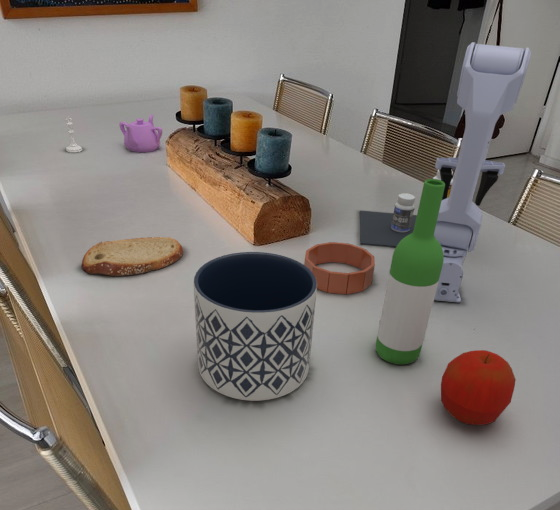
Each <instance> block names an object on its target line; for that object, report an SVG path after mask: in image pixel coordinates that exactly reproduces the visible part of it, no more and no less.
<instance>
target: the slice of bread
mask: <svg viewBox="0 0 560 510" xmlns="http://www.w3.org/2000/svg"><path fill="white" fill-rule="evenodd" d="M183 254H184V248H183V246H182V244H180V242H179V241H178V240H177V239H175V238H173V237H171V236H169V237H165V236H164V237H163V236H162V237H160V236H154V237H151V236H149V237H135V238H126V239H117V240H116V239H115V240H107V241H106V240H105V241H99V242H98V243H97V244H95V245H92V247H90V248H89V249H88V250H87V251H86V253H84V255H83V257H82V260H81V269H82V270H83V271H85V272H86V273H87V274H90V275H94V274H95V275H96V274H98V275H105V276H111V277H123V276H134V275H140V274H145V273H148V272H151V271H157V270H160V269H163V268H166V267H169V266H170V265H172V264H174V263H176V262H177V261H179V259H181V258H182V256H183Z"/></svg>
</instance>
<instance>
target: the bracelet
mask: <svg viewBox="0 0 560 510" xmlns="http://www.w3.org/2000/svg"><path fill="white" fill-rule="evenodd" d="M375 259H376V258H375V256H374V254H372V253H371V252H369V251H368V250H367V248H364V247H361V246H358V245H355V244H352V243H347V242H338V241H329V242H322V243H316V244H314V245H313V246H311V247H309V248H308V249H306V250H305V254H304V264H303V265H305V266H306V267H307V268H309V269H310V270H311V271H312V273H313V274H314V276H315V278H316V281H317V290H319V291H321V292H324V293H328V294H338V295H350V294H355V293H361V292H363V291H365V290H367V288H369V287H370V286H372V284H373V278H374V273H375V266H376V263H375V262H376V260H375ZM327 263H337V264H338V263H339V264H347V265H349V266H352V267H355V268H358V269H360V270H358V271H353V272H342V271H332V270H331V271H330V270H328V269H325V268H322V267H320V266H317V265H321V264H327Z"/></svg>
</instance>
